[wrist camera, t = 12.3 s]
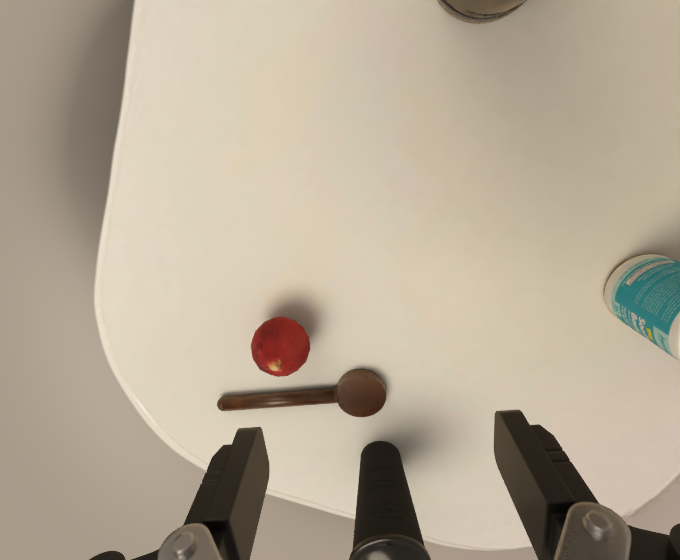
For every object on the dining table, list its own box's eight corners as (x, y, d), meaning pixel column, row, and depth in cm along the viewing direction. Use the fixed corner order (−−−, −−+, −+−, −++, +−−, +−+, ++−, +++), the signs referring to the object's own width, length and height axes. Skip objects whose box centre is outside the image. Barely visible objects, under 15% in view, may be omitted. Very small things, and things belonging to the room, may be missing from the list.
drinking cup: (384, 420, 48) (405, 606, 29) (423, 459, 50) (467, 657, 31) (336, 453, 50) (328, 648, 31) (376, 489, 51) (390, 693, 33)
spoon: (214, 380, 46) (210, 388, 45) (383, 366, 45) (384, 375, 44) (224, 419, 48) (220, 428, 47) (386, 407, 47) (387, 416, 46)
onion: (276, 360, 45) (261, 405, 38) (250, 318, 44) (228, 357, 36) (321, 339, 44) (315, 382, 37) (296, 296, 42) (284, 331, 35)
